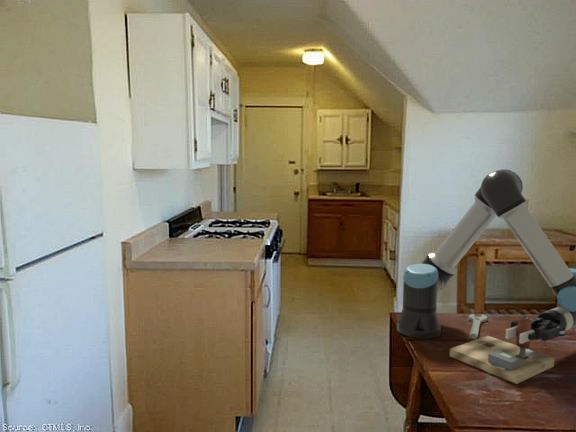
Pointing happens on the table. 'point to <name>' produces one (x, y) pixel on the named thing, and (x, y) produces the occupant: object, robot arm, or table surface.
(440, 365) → the table surface
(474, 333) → the adjustable wrench
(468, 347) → the board
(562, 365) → the table surface
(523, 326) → the awl
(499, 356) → the block
